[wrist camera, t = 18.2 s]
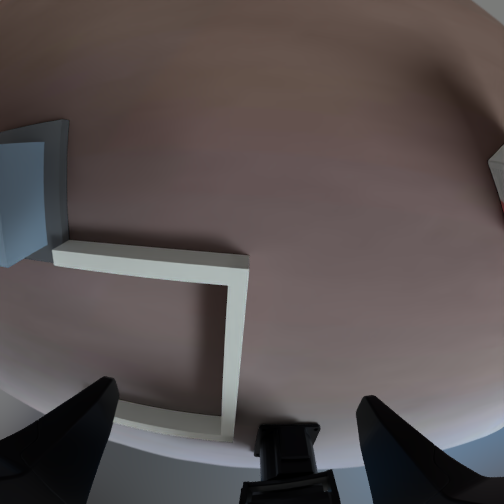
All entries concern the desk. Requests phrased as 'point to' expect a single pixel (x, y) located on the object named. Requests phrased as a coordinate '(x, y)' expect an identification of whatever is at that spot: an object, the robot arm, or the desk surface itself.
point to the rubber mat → (49, 179)
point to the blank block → (21, 201)
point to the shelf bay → (188, 270)
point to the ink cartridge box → (498, 172)
